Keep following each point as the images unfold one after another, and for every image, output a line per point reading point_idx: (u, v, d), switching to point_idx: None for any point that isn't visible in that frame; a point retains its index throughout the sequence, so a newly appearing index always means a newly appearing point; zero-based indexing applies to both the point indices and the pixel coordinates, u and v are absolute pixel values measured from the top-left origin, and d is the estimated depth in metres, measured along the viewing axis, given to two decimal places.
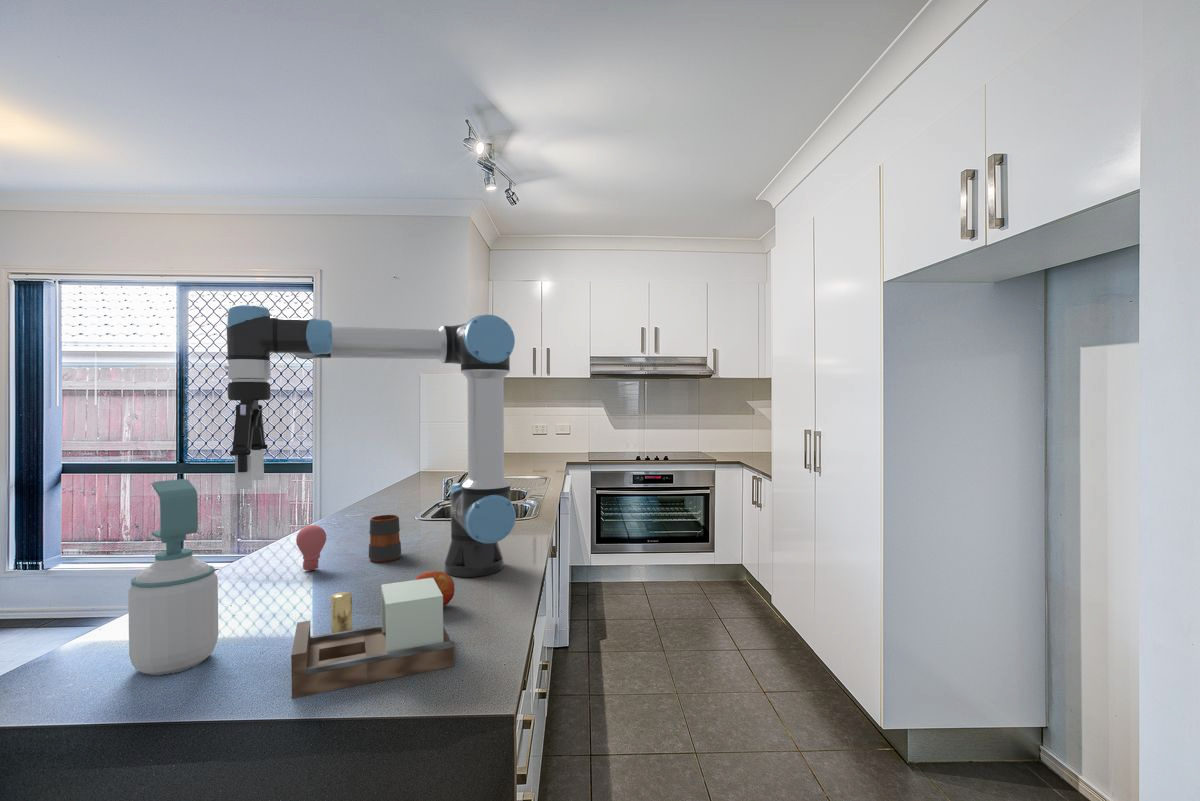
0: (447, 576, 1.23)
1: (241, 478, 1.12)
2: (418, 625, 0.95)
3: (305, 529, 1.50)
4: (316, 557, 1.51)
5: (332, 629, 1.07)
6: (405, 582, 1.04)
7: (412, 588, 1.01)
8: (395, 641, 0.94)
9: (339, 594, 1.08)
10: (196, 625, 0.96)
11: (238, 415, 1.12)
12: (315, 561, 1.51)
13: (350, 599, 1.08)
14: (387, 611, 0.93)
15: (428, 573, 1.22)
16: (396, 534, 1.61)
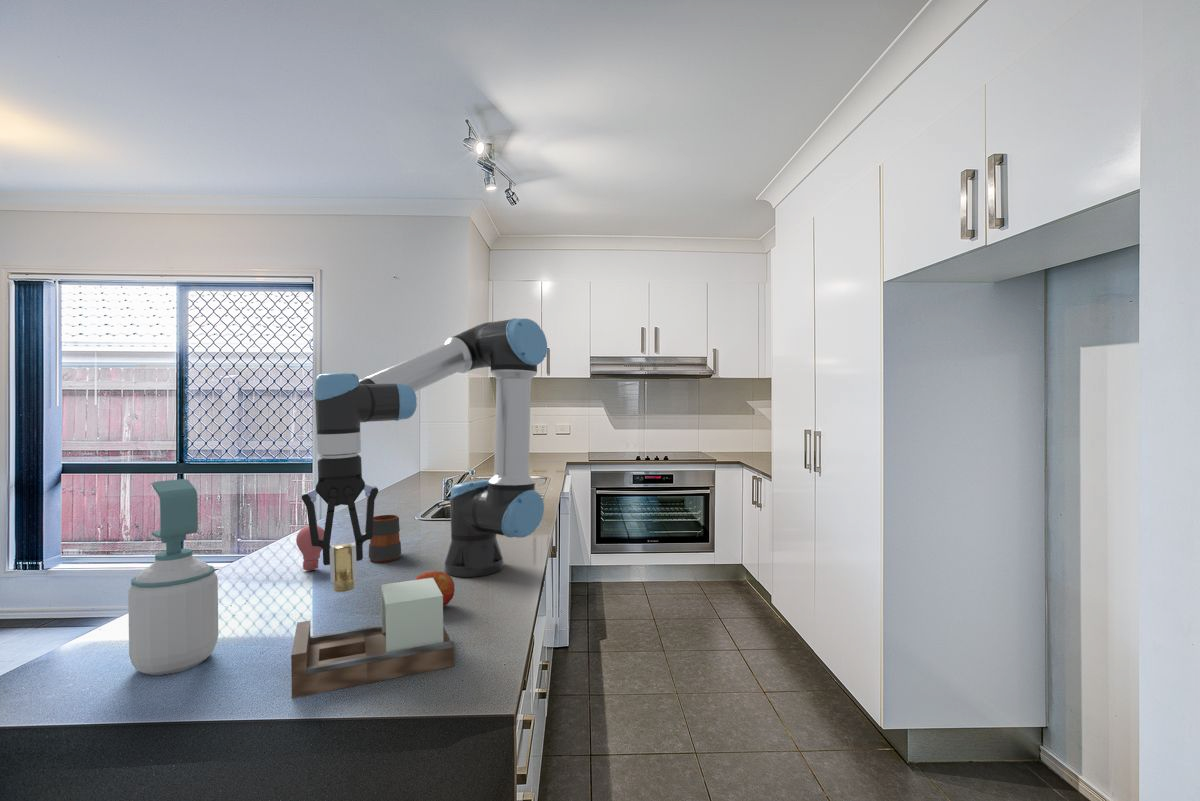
0: (447, 576, 1.23)
1: None
2: (418, 625, 0.95)
3: (305, 529, 1.50)
4: (316, 557, 1.51)
5: None
6: (405, 582, 1.04)
7: (412, 588, 1.01)
8: (395, 641, 0.94)
9: (340, 546, 1.09)
10: (196, 625, 0.96)
11: None
12: (315, 561, 1.51)
13: (351, 550, 1.08)
14: (387, 611, 0.93)
15: (428, 573, 1.22)
16: (396, 534, 1.61)
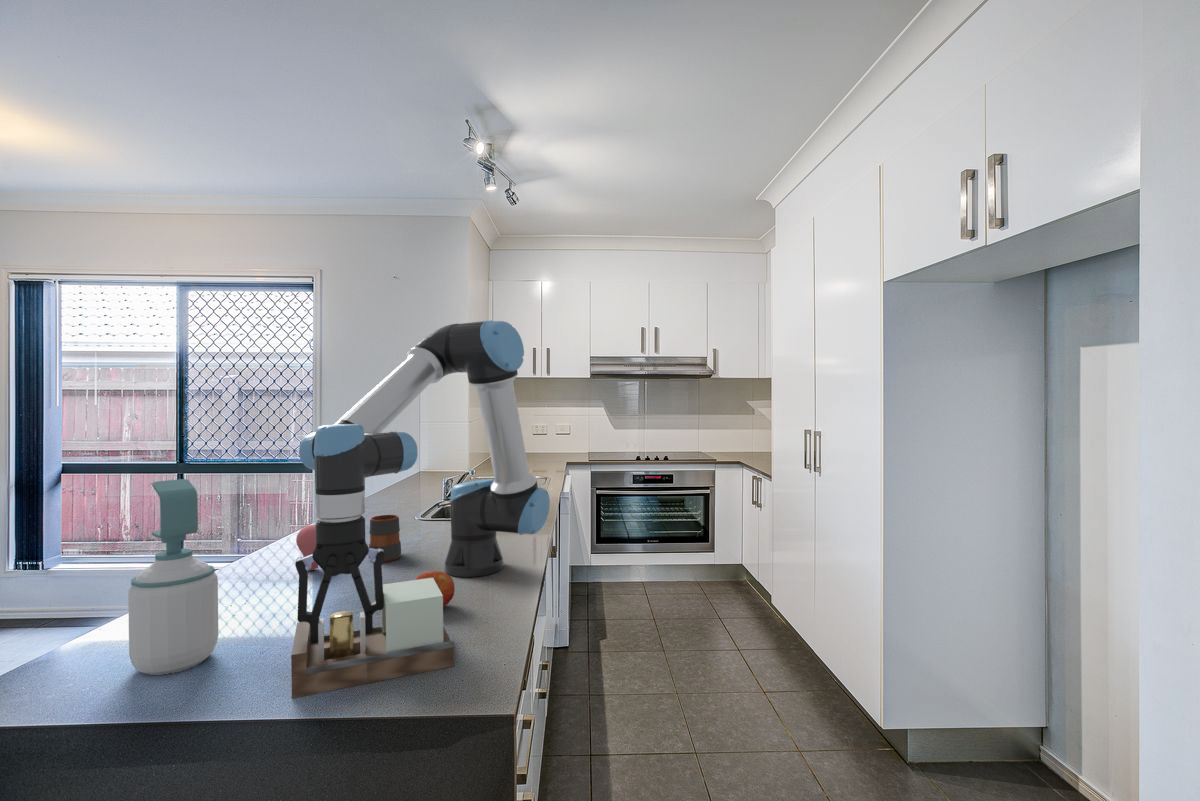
0: (447, 576, 1.23)
1: None
2: (418, 625, 0.95)
3: (305, 529, 1.50)
4: None
5: (331, 654, 0.94)
6: (405, 582, 1.04)
7: (412, 588, 1.01)
8: (395, 641, 0.94)
9: (339, 614, 0.96)
10: (196, 625, 0.96)
11: None
12: None
13: (351, 619, 0.95)
14: (387, 611, 0.93)
15: (428, 573, 1.22)
16: (396, 534, 1.61)
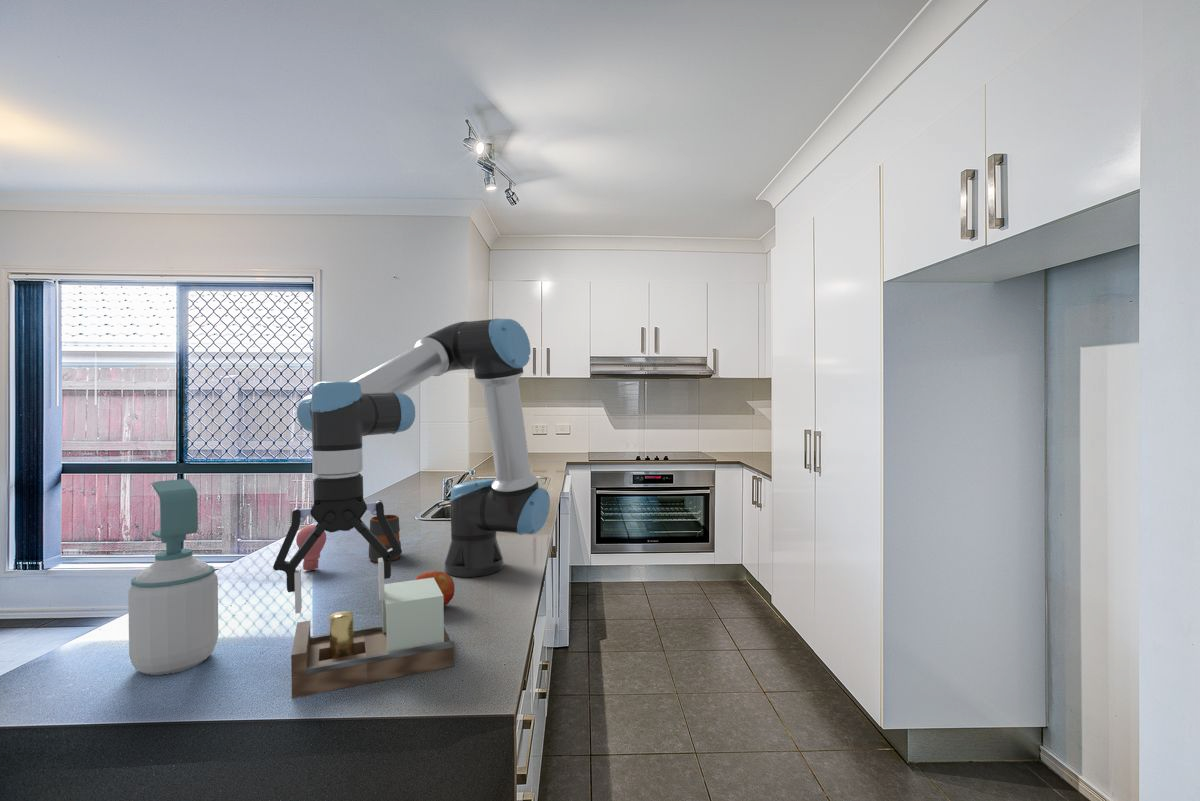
0: (447, 576, 1.23)
1: None
2: (419, 625, 0.95)
3: (305, 529, 1.50)
4: (316, 557, 1.51)
5: (331, 654, 0.94)
6: (405, 582, 1.04)
7: (413, 588, 1.01)
8: (396, 641, 0.94)
9: (339, 614, 0.96)
10: (196, 625, 0.96)
11: None
12: (315, 561, 1.51)
13: (351, 619, 0.95)
14: (388, 611, 0.93)
15: (428, 573, 1.22)
16: (396, 534, 1.61)
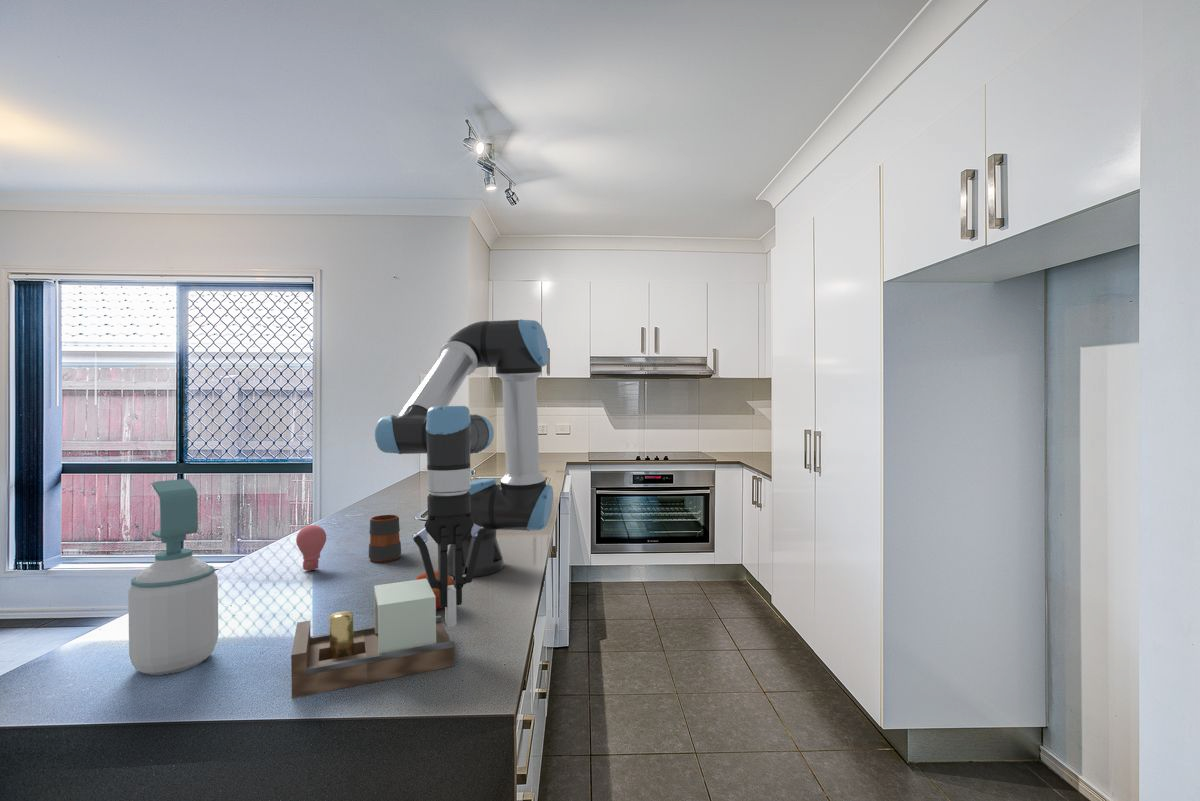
0: None
1: (446, 612, 1.03)
2: (411, 626, 0.95)
3: (305, 528, 1.50)
4: (316, 557, 1.51)
5: (331, 654, 0.94)
6: (398, 583, 1.04)
7: (405, 589, 1.00)
8: (387, 642, 0.93)
9: (339, 614, 0.96)
10: (196, 625, 0.96)
11: None
12: (315, 561, 1.51)
13: (351, 619, 0.95)
14: (379, 613, 0.93)
15: None
16: (396, 534, 1.61)
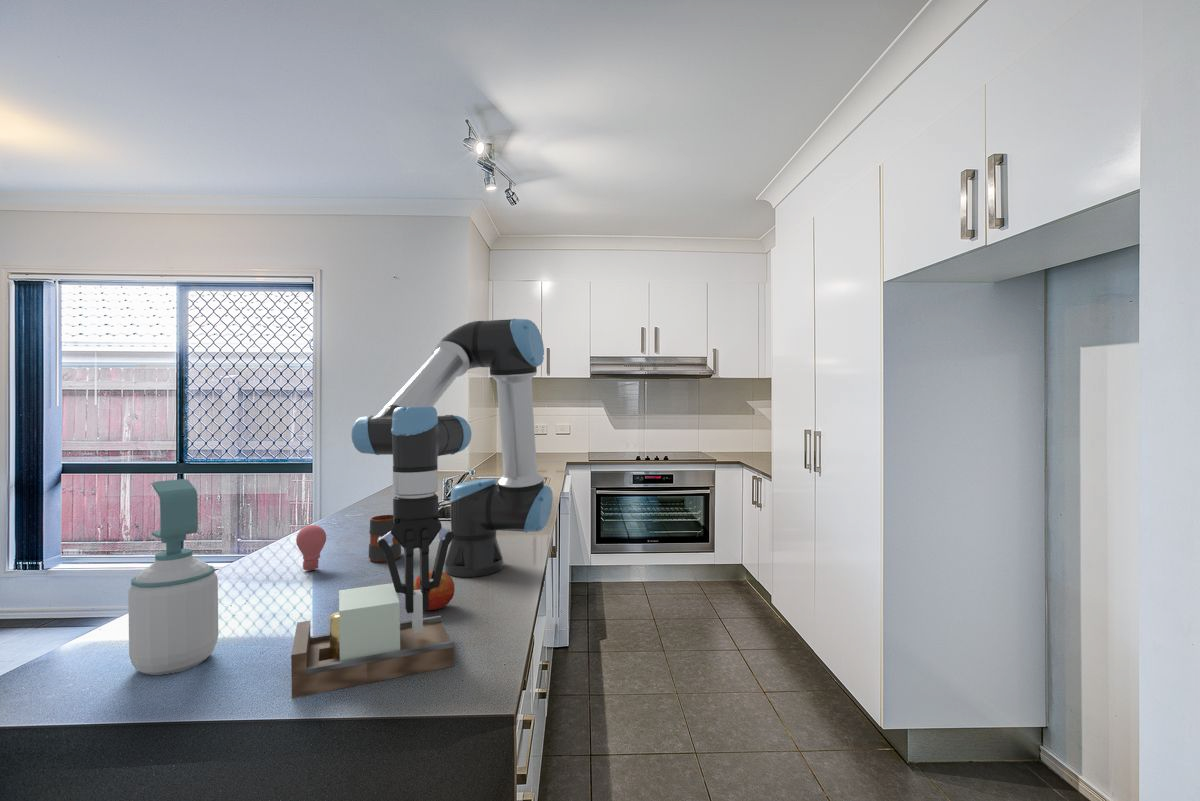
0: (447, 576, 1.23)
1: (412, 617, 1.00)
2: (373, 632, 0.92)
3: (305, 529, 1.50)
4: (316, 557, 1.51)
5: (331, 654, 0.94)
6: (364, 587, 1.01)
7: (370, 594, 0.98)
8: (349, 649, 0.91)
9: None
10: (196, 625, 0.96)
11: None
12: (315, 561, 1.51)
13: None
14: (340, 619, 0.90)
15: None
16: None
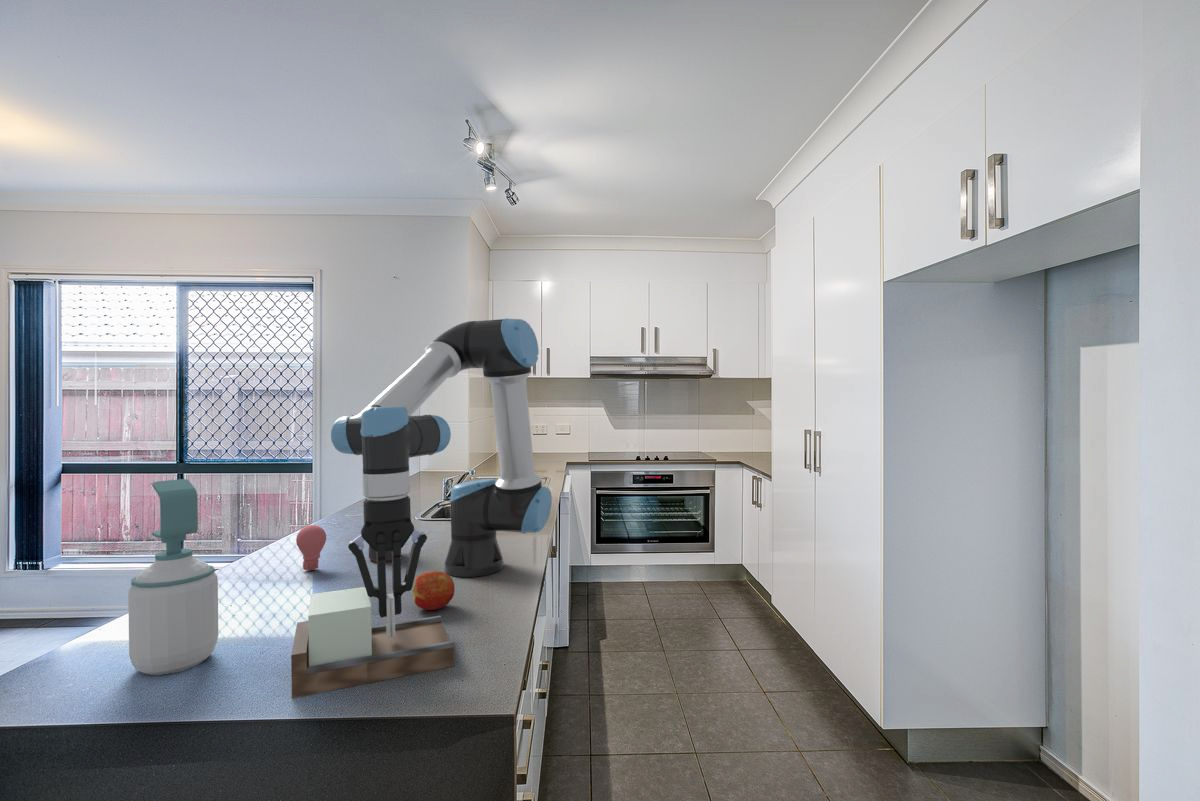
0: (447, 576, 1.23)
1: (386, 622, 0.98)
2: (344, 637, 0.90)
3: (305, 529, 1.50)
4: (316, 557, 1.51)
5: None
6: (337, 591, 1.00)
7: (342, 598, 0.96)
8: (318, 655, 0.89)
9: None
10: (196, 625, 0.96)
11: None
12: (315, 561, 1.51)
13: None
14: (310, 623, 0.88)
15: (428, 573, 1.22)
16: None
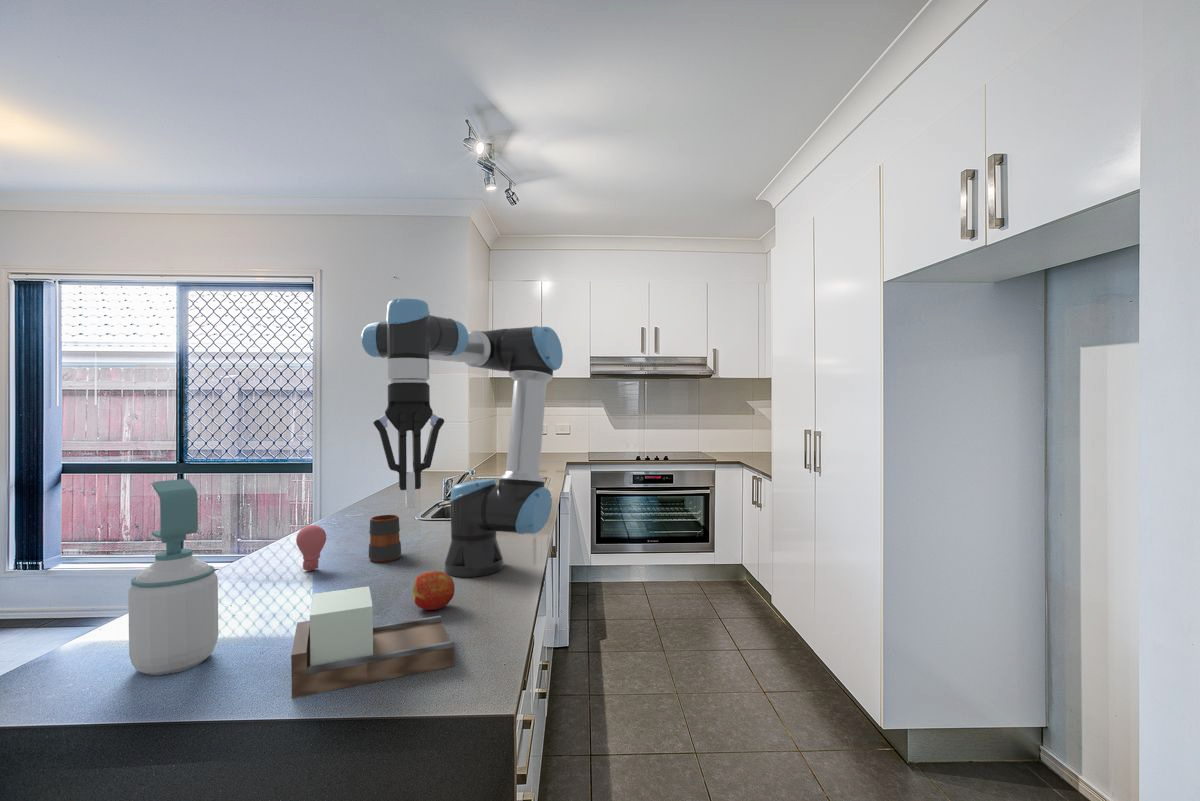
0: (447, 576, 1.23)
1: (405, 496, 1.08)
2: (345, 637, 0.90)
3: (305, 528, 1.50)
4: (316, 557, 1.51)
5: None
6: (338, 591, 1.00)
7: (343, 598, 0.96)
8: (320, 654, 0.89)
9: None
10: (196, 625, 0.96)
11: None
12: (315, 561, 1.51)
13: None
14: (311, 623, 0.88)
15: (428, 573, 1.22)
16: (396, 534, 1.61)
